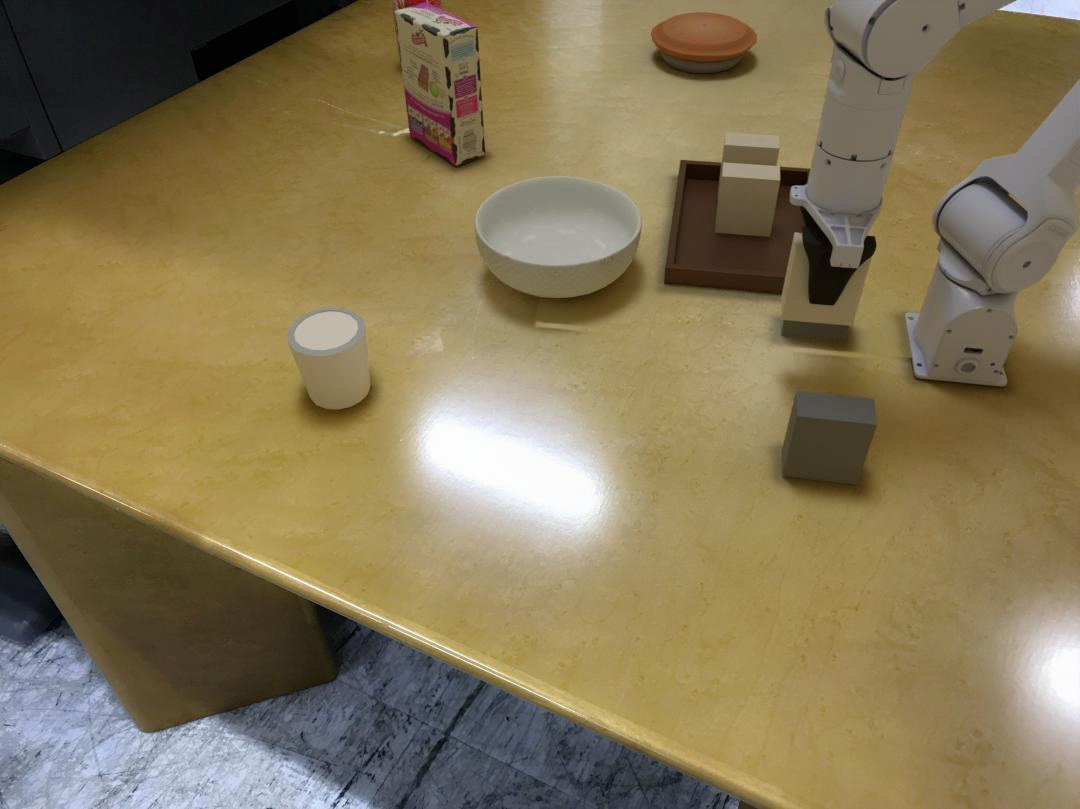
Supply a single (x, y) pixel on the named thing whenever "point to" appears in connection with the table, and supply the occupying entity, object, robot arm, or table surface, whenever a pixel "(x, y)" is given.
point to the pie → (703, 41)
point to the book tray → (728, 235)
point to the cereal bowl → (558, 235)
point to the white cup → (332, 356)
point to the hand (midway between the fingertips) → (820, 289)
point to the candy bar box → (442, 81)
